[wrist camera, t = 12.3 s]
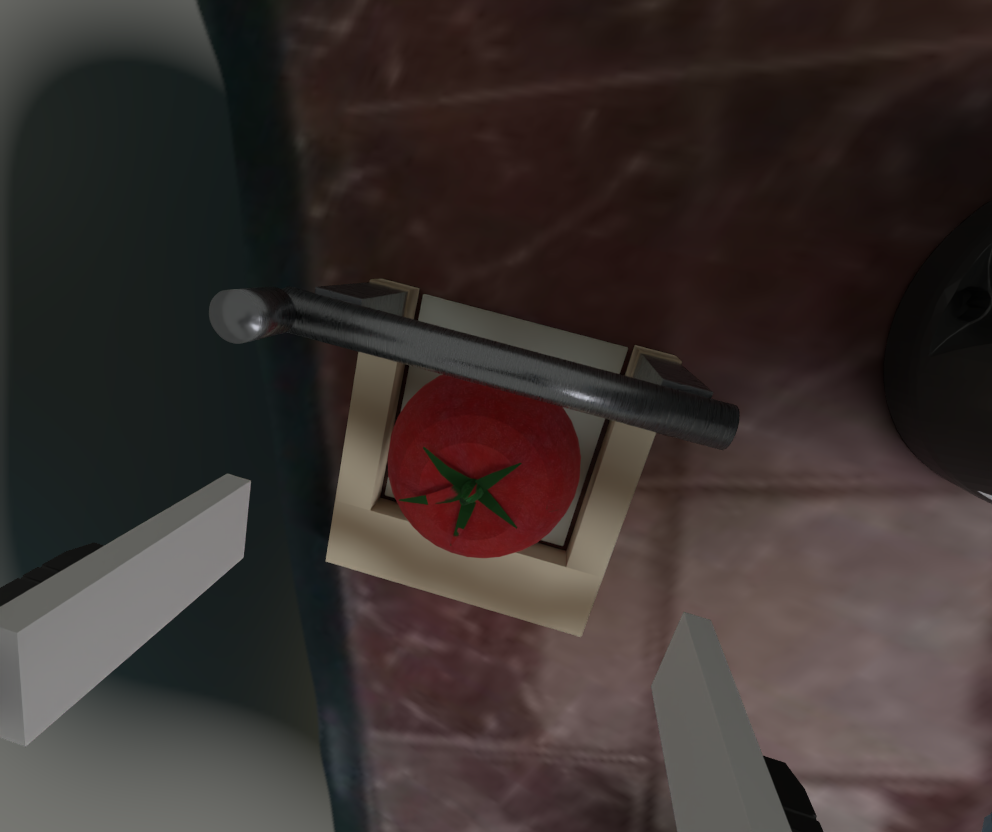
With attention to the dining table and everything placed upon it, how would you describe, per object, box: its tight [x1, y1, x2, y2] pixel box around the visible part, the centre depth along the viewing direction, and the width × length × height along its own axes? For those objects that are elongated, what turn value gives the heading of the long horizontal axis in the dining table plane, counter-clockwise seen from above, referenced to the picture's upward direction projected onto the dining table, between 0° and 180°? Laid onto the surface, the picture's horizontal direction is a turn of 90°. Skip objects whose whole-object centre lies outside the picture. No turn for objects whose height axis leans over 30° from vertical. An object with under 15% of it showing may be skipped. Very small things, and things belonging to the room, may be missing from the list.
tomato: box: [387, 375, 581, 558], centre depth 23 cm, size 9×9×8 cm
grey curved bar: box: [209, 282, 739, 450], centre depth 19 cm, size 2×17×9 cm, turn 76°
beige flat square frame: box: [326, 279, 682, 637], centre depth 27 cm, size 16×15×2 cm
